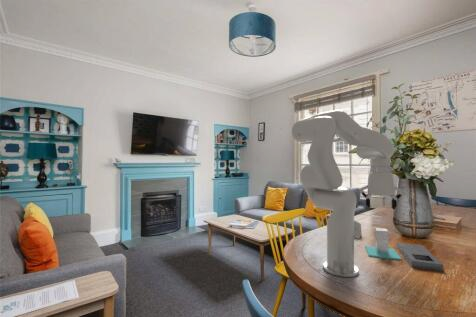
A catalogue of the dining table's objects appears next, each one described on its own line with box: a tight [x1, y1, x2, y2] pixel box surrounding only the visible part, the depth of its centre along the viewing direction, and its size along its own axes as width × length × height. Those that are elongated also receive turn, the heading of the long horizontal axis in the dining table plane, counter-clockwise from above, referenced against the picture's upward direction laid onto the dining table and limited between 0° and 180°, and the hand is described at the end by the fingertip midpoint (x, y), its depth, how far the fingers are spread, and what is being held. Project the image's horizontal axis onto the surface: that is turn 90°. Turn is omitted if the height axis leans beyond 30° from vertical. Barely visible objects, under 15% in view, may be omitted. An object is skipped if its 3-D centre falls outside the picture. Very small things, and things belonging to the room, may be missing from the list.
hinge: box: [354, 219, 363, 239], centre depth 135 cm, size 17×5×10 cm, turn 53°
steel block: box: [374, 227, 390, 254], centre depth 108 cm, size 4×4×10 cm
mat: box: [364, 245, 402, 261], centre depth 108 cm, size 12×12×1 cm
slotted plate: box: [396, 242, 444, 272], centre depth 102 cm, size 22×10×2 cm, turn 159°
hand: (380, 208), depth 108 cm, fingers open, 9 cm apart
